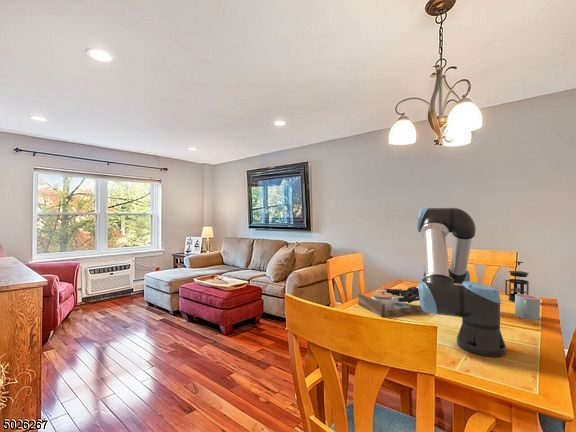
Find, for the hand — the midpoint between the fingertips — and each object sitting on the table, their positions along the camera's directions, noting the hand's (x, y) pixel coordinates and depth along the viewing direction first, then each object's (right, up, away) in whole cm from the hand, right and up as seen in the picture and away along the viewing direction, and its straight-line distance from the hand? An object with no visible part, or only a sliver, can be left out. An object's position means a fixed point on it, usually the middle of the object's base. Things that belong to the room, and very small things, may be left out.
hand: (383, 296), depth 153 cm
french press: (+84, -7, +17) cm, 86 cm away
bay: (+4, -6, +1) cm, 7 cm away
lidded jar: (-1, -7, -1) cm, 7 cm away
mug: (+65, -7, -13) cm, 66 cm away
